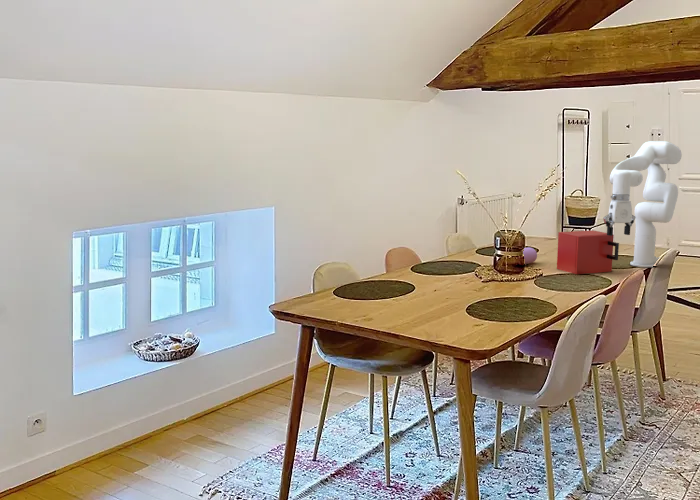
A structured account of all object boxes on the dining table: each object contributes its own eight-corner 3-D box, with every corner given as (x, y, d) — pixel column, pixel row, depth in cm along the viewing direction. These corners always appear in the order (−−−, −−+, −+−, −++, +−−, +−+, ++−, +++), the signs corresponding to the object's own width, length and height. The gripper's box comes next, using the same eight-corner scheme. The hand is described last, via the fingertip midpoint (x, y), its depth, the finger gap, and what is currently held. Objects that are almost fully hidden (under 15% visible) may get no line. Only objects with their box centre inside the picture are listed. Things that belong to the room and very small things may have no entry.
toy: (524, 262, 366) (506, 266, 351) (525, 246, 366) (507, 248, 350) (539, 264, 362) (521, 267, 346) (540, 247, 361) (523, 250, 345)
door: (620, 273, 332) (623, 236, 329) (585, 276, 325) (587, 238, 322) (610, 271, 339) (612, 234, 336) (575, 273, 332) (576, 236, 329)
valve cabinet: (609, 271, 339) (612, 233, 336) (574, 274, 332) (576, 236, 329) (590, 266, 352) (592, 230, 349) (556, 268, 345) (558, 232, 343)
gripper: (610, 199, 319) (608, 236, 322) (641, 198, 325) (639, 235, 327) (599, 197, 326) (597, 234, 329) (630, 197, 332) (628, 233, 334)
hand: (618, 235), depth 328 cm, fingers open, 9 cm apart
